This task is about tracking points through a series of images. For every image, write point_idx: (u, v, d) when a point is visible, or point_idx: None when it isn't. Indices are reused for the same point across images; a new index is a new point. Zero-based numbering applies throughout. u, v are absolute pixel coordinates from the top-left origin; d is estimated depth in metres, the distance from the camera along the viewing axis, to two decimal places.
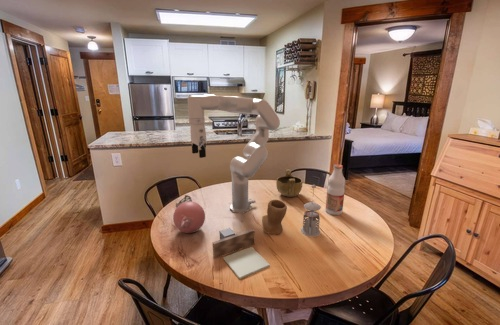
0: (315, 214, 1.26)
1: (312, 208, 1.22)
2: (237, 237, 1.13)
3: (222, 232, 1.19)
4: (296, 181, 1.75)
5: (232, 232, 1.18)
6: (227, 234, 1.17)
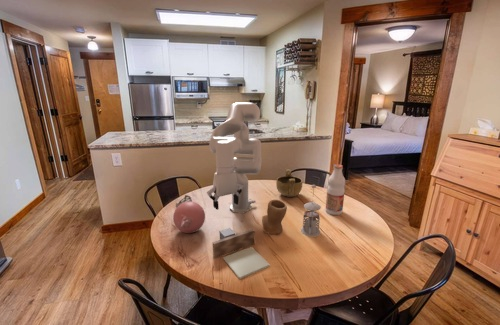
0: (315, 214, 1.26)
1: (312, 208, 1.22)
2: (237, 237, 1.13)
3: (222, 232, 1.19)
4: (296, 181, 1.75)
5: (232, 232, 1.18)
6: (227, 234, 1.17)
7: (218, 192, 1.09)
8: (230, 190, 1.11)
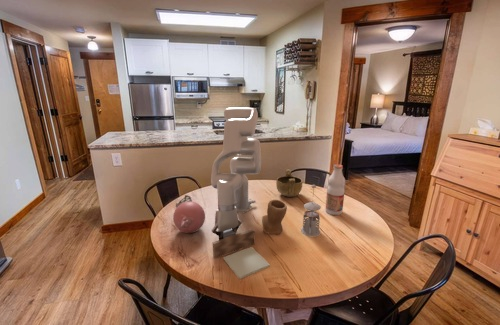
0: (315, 214, 1.26)
1: (312, 208, 1.22)
2: (237, 237, 1.13)
3: None
4: (296, 181, 1.75)
5: (232, 232, 1.18)
6: (227, 234, 1.17)
7: (220, 228, 1.14)
8: (231, 225, 1.16)
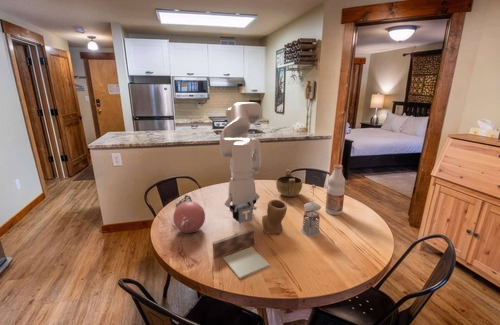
0: (315, 214, 1.26)
1: (312, 208, 1.22)
2: (237, 237, 1.13)
3: None
4: (296, 181, 1.75)
5: (248, 206, 1.01)
6: (243, 208, 0.99)
7: (234, 200, 0.96)
8: (248, 198, 0.99)
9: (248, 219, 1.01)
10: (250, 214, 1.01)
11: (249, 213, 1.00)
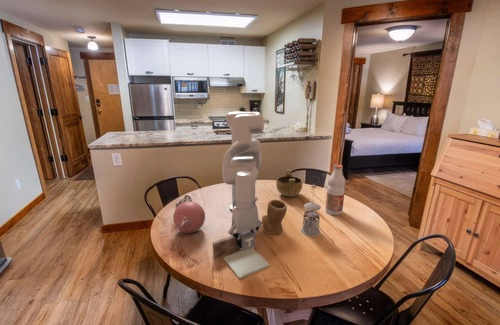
0: (315, 214, 1.26)
1: (312, 208, 1.22)
2: None
3: None
4: (296, 181, 1.75)
5: (251, 233, 1.02)
6: (246, 236, 1.00)
7: (238, 229, 0.97)
8: (251, 226, 1.00)
9: (251, 246, 1.02)
10: (253, 241, 1.02)
11: (252, 240, 1.01)
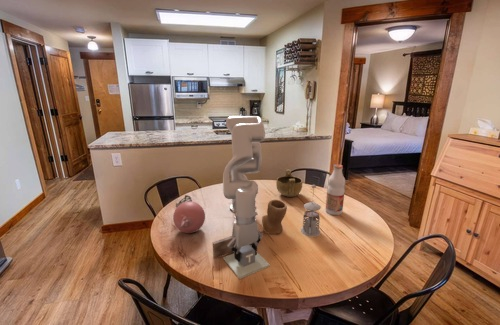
0: (315, 214, 1.26)
1: (312, 208, 1.22)
2: None
3: (240, 249, 1.04)
4: (296, 181, 1.75)
5: (251, 249, 1.04)
6: (246, 252, 1.03)
7: (238, 243, 0.99)
8: (251, 240, 1.02)
9: (251, 262, 1.04)
10: (253, 257, 1.04)
11: (252, 256, 1.04)
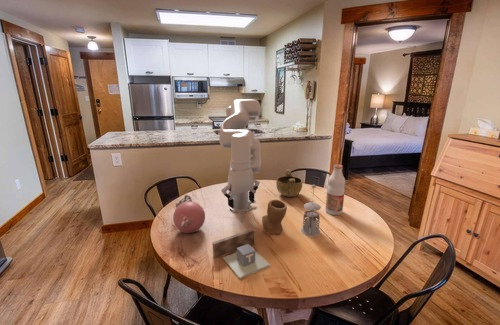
0: (315, 214, 1.26)
1: (312, 208, 1.22)
2: (237, 237, 1.13)
3: (240, 249, 1.04)
4: (296, 181, 1.75)
5: (251, 249, 1.04)
6: (246, 252, 1.03)
7: (234, 190, 1.00)
8: (246, 187, 1.03)
9: (251, 262, 1.04)
10: (253, 257, 1.04)
11: (252, 256, 1.04)
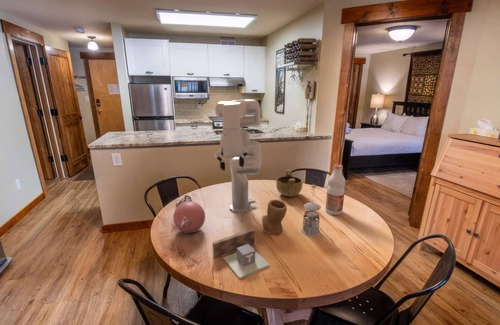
0: (315, 214, 1.26)
1: (312, 208, 1.22)
2: (237, 237, 1.13)
3: (240, 249, 1.04)
4: (296, 181, 1.75)
5: (251, 249, 1.04)
6: (246, 252, 1.03)
7: (225, 153, 1.14)
8: (236, 152, 1.16)
9: (251, 262, 1.04)
10: (253, 257, 1.04)
11: (252, 256, 1.04)
